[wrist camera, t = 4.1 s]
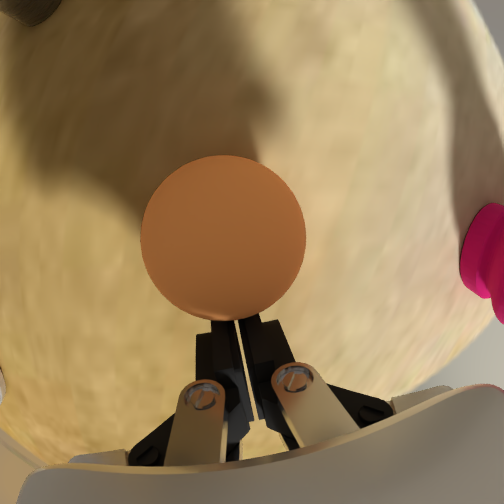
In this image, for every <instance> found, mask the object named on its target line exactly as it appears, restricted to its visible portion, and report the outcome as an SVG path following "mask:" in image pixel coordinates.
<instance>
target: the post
mask: <svg viewBox="0 0 504 504" xmlns="http://www.w3.org/2000/svg"><path fill="white" fill-rule="evenodd" d="M60 2H61V0H0V12H2V13H4V14H6V15H8V16H10V17H12V18H14V19H15V20H17V21H19V22H21V23H23V24H25V25H27V26H34V25H37V24H39V23H41V22H42V21H44V20H45V19H47V18H48V17H49V16H50V15H51V14H52V13H53V12H54V11H55V10H56V8H57V7H58V6H59V4H60Z"/></svg>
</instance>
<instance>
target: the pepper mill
mask: <svg viewBox="0 0 504 504" xmlns="http://www.w3.org/2000/svg"><path fill="white" fill-rule="evenodd" d="M460 273H461V278H462V281H463V283H464V285H465V286H466V287H467V288H468V289H470V290H471V291H473V292H474V293H476V294H477V295H478V296H480V297H481V298H483V299H485V298H490V297H491V300H492V306H493V310H494V313H495V315H496V317H497V318H498V320H499V321H500V322H501V323H502V324H504V206H503V205H500V204H497V203H491V204H488V205H486V206H485V207H483V208H482V209H481V210H480V212H479V213H478V214H477V215H476V217H475V218H474V220H473V222H472V224H471V226H470V228H469V230H468V233H467V235H466V238H465V241H464V245H463V248H462V254H461V261H460Z"/></svg>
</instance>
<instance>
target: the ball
mask: <svg viewBox="0 0 504 504" xmlns="http://www.w3.org/2000/svg"><path fill="white" fill-rule="evenodd" d="M140 242H141V250H142V257H143V260H144V263H145V266H146V269H147V272H148V274H149V276H150V278H151V280H152V281H153V283H154V284H155V286H156V287H157V288H158V290H159V291H160V292H161V294H162V295H164V296H165V297H166V298H167V299H168V300H169V301H170V302H171V303H172V304H174V305H175V306H176V307H178V308H179V309H181V310H183V311H185V312H187V313H189V314H191V315H193V316H196V317H199V318H203V319H208V320H213V321H232V320H238V319H243V318H247V317H250V316H253V315H255V314H257V313H259V312H262V311H263V310H265V309H267V308H268V307H270V306H271V305H272V304H274V303H275V302H276V301H277V300H279V299H280V298H281V297H282V296H283V295H284V294H285V292H286V291H287V290H288V289H289V287H290V286H291V285H292V283H293V281H294V280H295V278H296V277H297V274H298V272H299V270H300V267H301V265H302V262H303V258H304V254H305V247H306V229H305V222H304V218H303V214H302V211H301V208H300V206H299V204H298V202H297V200H296V198H295V196H294V194H293V192H292V191H291V190H290V188H289V187H288V186H287V184H286V183H285V182H284V181H283V180H282V179H281V178H280V177H279V176H278V175H276V174H275V173H274V172H273V171H271V170H270V169H269V168H267V167H265V166H264V165H262V164H259V163H257V162H255V161H253V160H250V159H247V158H243V157H238V156H230V155H215V156H208V157H204V158H200V159H197V160H194V161H192V162H189V163H187V164H185V165H183V166H181V167H180V168H178V169H177V170H176V171H174V172H173V173H172V174H170V175H169V176H168V177H167V178H166V179H165V180H164V181H163V182H162V183H161V184H160V186H159V187H158V188H157V189H156V191H155V192H154V194H153V195H152V197H151V199H150V201H149V203H148V205H147V207H146V210H145V213H144V216H143V221H142V225H141V240H140Z"/></svg>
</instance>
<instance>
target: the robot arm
mask: <svg viewBox="0 0 504 504" xmlns="http://www.w3.org/2000/svg"><path fill="white" fill-rule="evenodd" d="M238 323H239V329H240V334H241V339H242V344H243V349H244V354H245V359H246V364H247V368H248V373H249V378H250V382H251V387H252V391H253V395H254V400H255V404H256V409H257V413H258V417H259V420H261V419H265V421H266V425H267V427H268V428H270V429H272V430H274V431H276V432H279V436H280V439H281V441H282V443H283V445H284V447H285V449H286V450H287V451H286V452H282V453H277V454H273V455H268V456H263V457H257V458H251V459H245V460H242V452H243V443H242V438H243V437H244V436H245V435H246V434H247V433H248V432H249V430H250V426H249V422H251V421H254V416H253V412H252V407H251V402H250V397H249V392H248V387H247V381H246V376H245V371H244V366H243V361H242V355H241V351H240V346H239V342H238V337H237V332H236V328H235V323H234V320H232V321H213V320H211V332H209V333H203V334H197V335H196V381H195V382H192V383H190V384H188V385H187V386H186V387H185V388H184V389H183V390H182V391H181V393H180V395H179V399H178V403H177V407H176V412H175V413H174V414H173V415H172V416H171V417H169V418H168V419H167V420H166V421H165V422H163V423H162V424H161V425H160V426H159V427H157V428H156V429H155V430H154V431H152V432H151V433H150V434H149V435H147V436H146V437H145V438H144V439H142V440H141V441H140V442H139V443H137V444H136V445H135V446H134V447H133V448H132V449H131V450H130V451H126V450H125V449H120V450H114V451H107V452H100V453H92V454H83V455H78V456H74V457H73V458H72V459H70V461H69V462H68V463H62V464H54V465H50V466H45V467H42V468H39V469H37V470H35V471H33V472H31V473H30V474H29V475H28V477H27V478H26V480H25V481H24V483H23V485H22V487H21V490H20V493H19V496H18V500H17V503H16V504H504V390H502V389H501V388H499V387H497V386H495V385H491V384H475V385H470V386H464V387H461V388H456V389H452V388H451V387H449V386H444V385H443V386H436V387H433V388H429V389H425V390H422V391H418V392H414V393H410V394H405V395H401V396H397V397H392V398H391V401H384V400H381V399H379V398H375V397H371V396H368V395H364V394H360V393H357V392H353V391H350V390H346V389H343V388H340V387H336V386H333V385H330V384H327V383H325V381H324V380H323V379H322V377H321V376H320V375H319V373H318V372H317V371H316V370H315V369H314V368H313V367H312V366H310V365H308V364H306V363H301V362H295V359H294V357H293V354H292V352H291V349H290V347H289V345H288V342H287V340H286V337H285V335H284V332H283V330H282V327H281V325H280V323H279V321H278V319H277V320H273V321H268V322H263V323H262V322H261V319H260V316H259V313H257V314H255V315H253V316H250V317H247V318H243V319H238ZM5 394H6V385H5V381H4V378H3V374H2V372H1V369H0V404H1V403H2V401H3V399H4V397H5Z"/></svg>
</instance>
